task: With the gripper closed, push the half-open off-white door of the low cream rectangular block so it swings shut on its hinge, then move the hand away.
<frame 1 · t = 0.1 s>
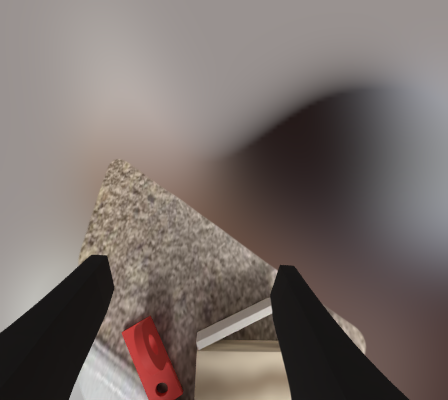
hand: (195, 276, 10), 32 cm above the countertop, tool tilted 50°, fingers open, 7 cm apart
door: (237, 320, 36), point 3 cm above the countertop, hinge at 25.0°
bracket: (153, 359, 37), on the countertop
cream rectangular block: (238, 372, 37), on the countertop
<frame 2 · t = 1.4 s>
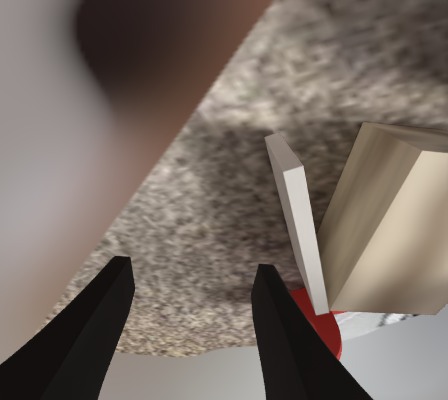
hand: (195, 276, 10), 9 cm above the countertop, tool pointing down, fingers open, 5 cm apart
door: (298, 229, 17), point 3 cm above the countertop, hinge at 25.0°
bracket: (314, 295, 27), on the countertop
cream rectangular block: (380, 206, 20), on the countertop
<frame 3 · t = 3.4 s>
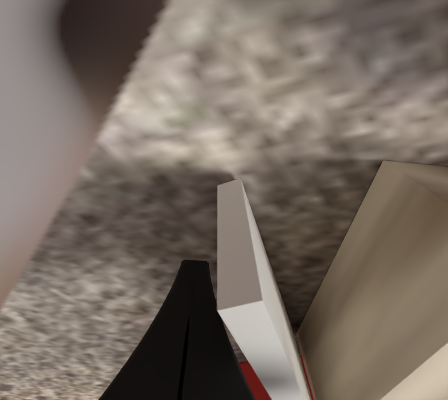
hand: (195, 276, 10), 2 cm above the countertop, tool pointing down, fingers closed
door: (276, 330, 11), point 3 cm above the countertop, hinge at 25.0°, touching gripper
bracket: (311, 363, 20), on the countertop
cream rectangular block: (403, 275, 13), on the countertop
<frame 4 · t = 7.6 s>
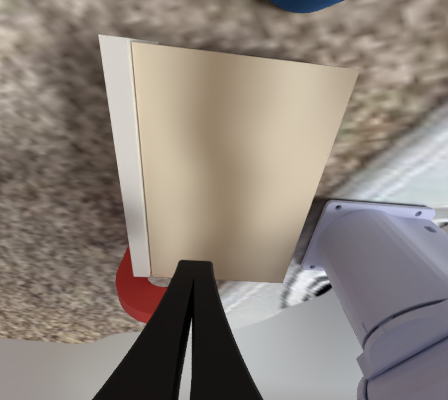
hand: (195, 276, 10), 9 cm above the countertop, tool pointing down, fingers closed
door: (145, 168, 14), point 3 cm above the countertop, hinge at -0.2°
bracket: (203, 249, 23), on the countertop
cream rectangular block: (226, 159, 17), on the countertop
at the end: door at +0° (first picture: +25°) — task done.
